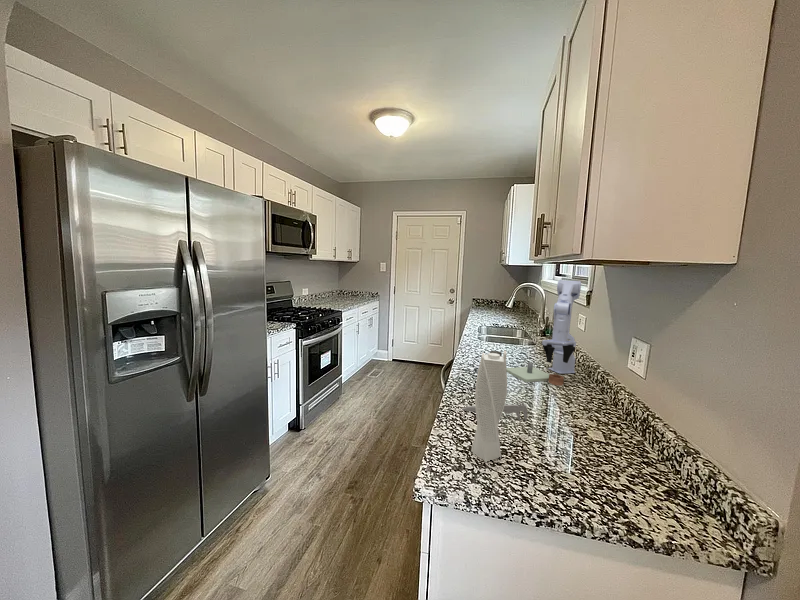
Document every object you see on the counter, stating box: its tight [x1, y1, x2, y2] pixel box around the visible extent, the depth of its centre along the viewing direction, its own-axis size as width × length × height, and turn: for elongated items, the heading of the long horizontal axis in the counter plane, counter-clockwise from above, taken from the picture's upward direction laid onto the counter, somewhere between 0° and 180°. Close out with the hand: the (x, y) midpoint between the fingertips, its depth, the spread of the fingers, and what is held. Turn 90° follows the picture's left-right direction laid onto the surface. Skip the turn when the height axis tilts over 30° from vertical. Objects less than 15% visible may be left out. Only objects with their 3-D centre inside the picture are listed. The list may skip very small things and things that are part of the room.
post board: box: [506, 362, 550, 383], centre depth 153 cm, size 16×16×6 cm
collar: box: [548, 373, 565, 386], centre depth 144 cm, size 6×6×3 cm
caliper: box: [461, 401, 528, 422], centre depth 109 cm, size 20×1×6 cm, turn 72°
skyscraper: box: [470, 350, 508, 463], centre depth 84 cm, size 8×8×28 cm
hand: (557, 362), depth 142 cm, fingers open, 7 cm apart
